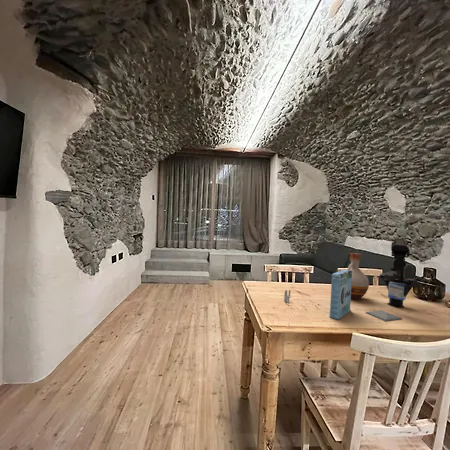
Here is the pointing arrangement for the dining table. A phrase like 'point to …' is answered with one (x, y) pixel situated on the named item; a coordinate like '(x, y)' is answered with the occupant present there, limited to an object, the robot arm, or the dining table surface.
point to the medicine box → (396, 291)
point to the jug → (357, 278)
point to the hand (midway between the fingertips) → (396, 294)
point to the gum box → (340, 294)
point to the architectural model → (287, 296)
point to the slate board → (383, 315)
